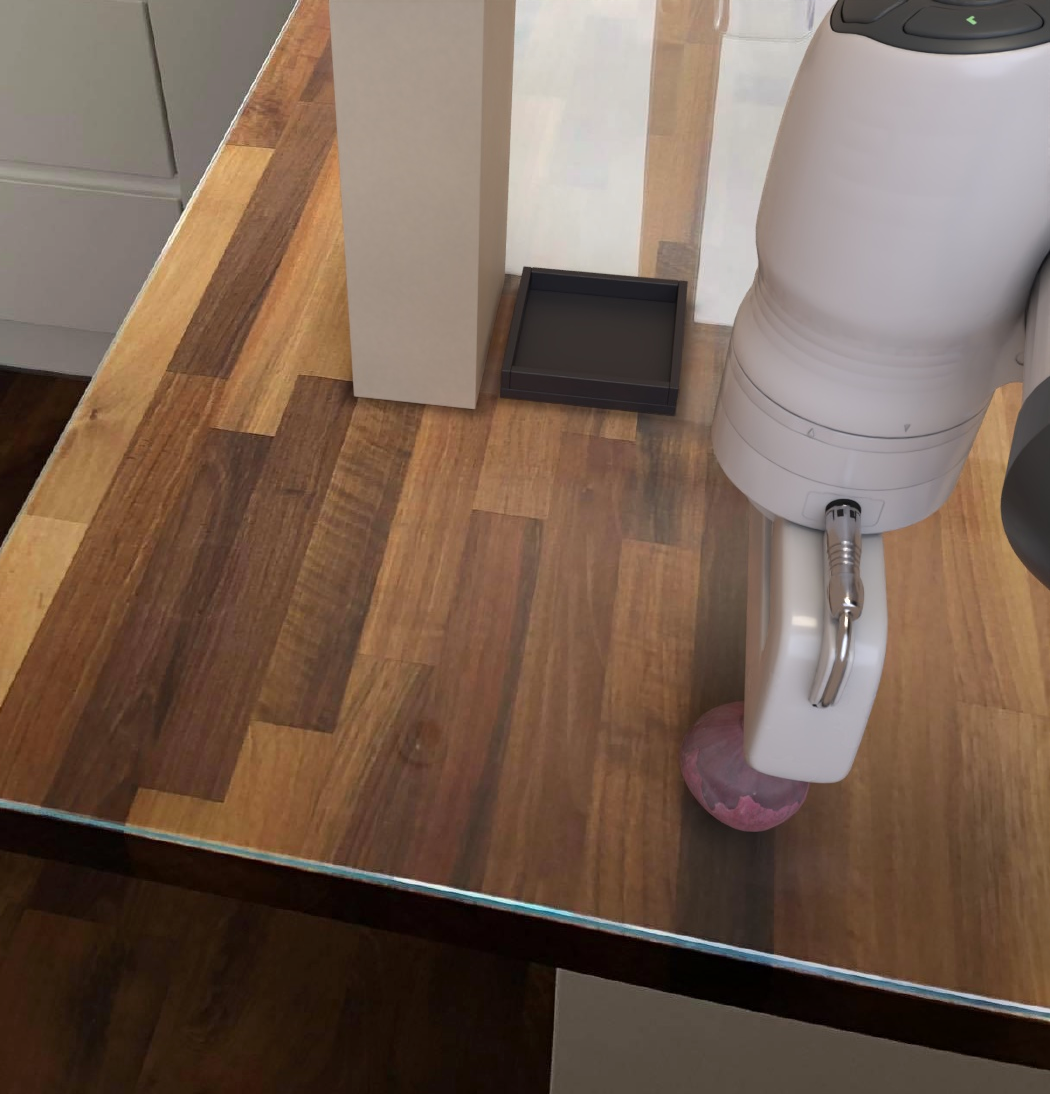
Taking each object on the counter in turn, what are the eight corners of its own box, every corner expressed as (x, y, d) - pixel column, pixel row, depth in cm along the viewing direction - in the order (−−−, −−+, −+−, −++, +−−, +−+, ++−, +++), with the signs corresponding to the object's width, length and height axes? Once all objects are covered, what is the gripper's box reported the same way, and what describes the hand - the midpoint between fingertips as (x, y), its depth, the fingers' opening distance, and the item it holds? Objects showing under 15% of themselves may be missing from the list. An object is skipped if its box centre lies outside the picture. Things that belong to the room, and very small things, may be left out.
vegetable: (713, 735, 71) (744, 611, 64) (819, 801, 68) (865, 680, 61) (646, 813, 68) (671, 693, 61) (755, 886, 65) (795, 770, 58)
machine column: (512, 275, 98) (532, -172, 76) (481, 415, 88) (494, -51, 66) (388, 263, 99) (372, -178, 77) (344, 400, 89) (311, -61, 67)
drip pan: (683, 307, 95) (688, 280, 93) (674, 416, 87) (679, 388, 86) (521, 292, 97) (523, 265, 95) (499, 397, 89) (501, 370, 88)
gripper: (958, 654, 42) (851, 879, 52) (918, 255, 55) (838, 496, 65) (746, 625, 43) (682, 851, 53) (757, 239, 56) (704, 480, 66)
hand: (768, 652), depth 59 cm, fingers open, 8 cm apart
